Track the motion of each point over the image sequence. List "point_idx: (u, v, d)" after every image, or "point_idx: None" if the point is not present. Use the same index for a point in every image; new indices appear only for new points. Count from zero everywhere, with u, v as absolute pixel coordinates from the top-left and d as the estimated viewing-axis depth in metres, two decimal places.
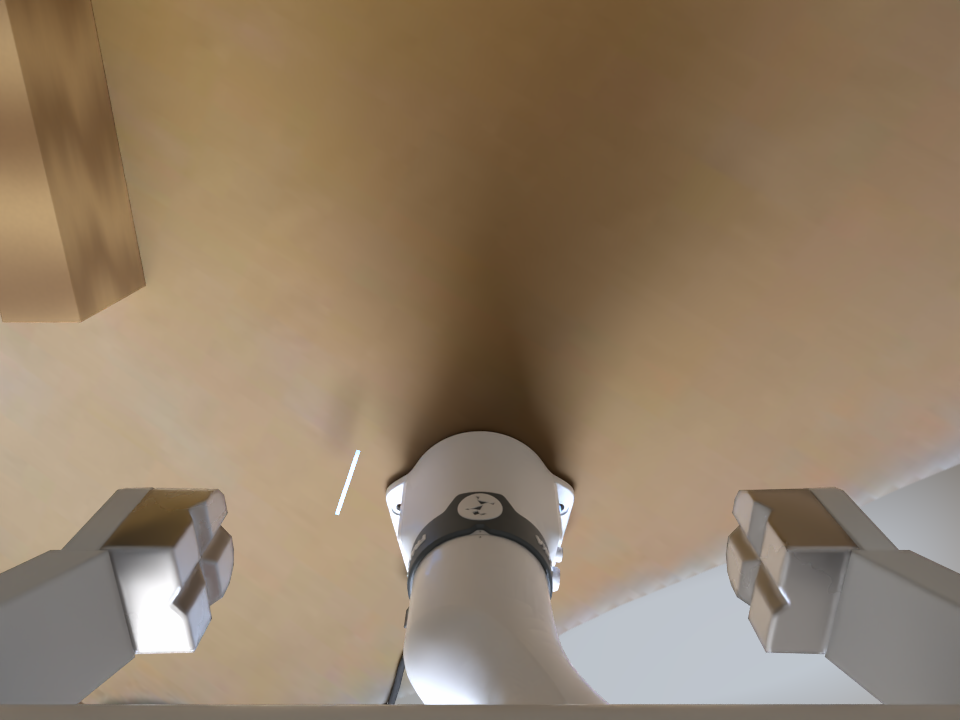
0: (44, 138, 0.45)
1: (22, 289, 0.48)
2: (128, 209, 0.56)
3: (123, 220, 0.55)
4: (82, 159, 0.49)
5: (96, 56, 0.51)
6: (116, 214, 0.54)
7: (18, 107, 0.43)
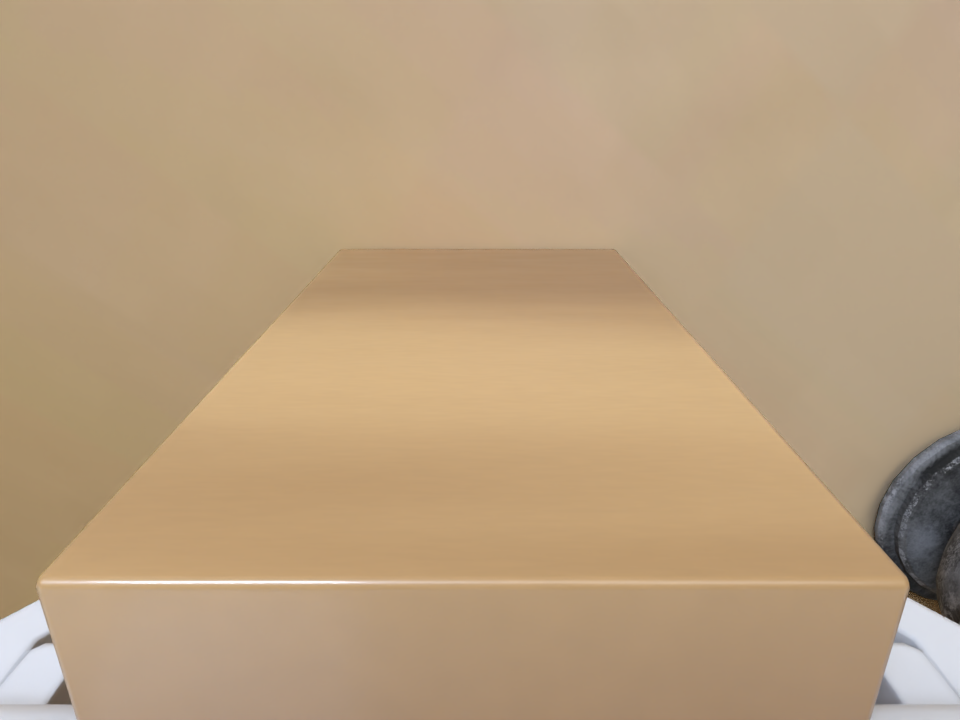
0: None
1: None
2: None
3: None
4: None
5: None
6: None
7: None
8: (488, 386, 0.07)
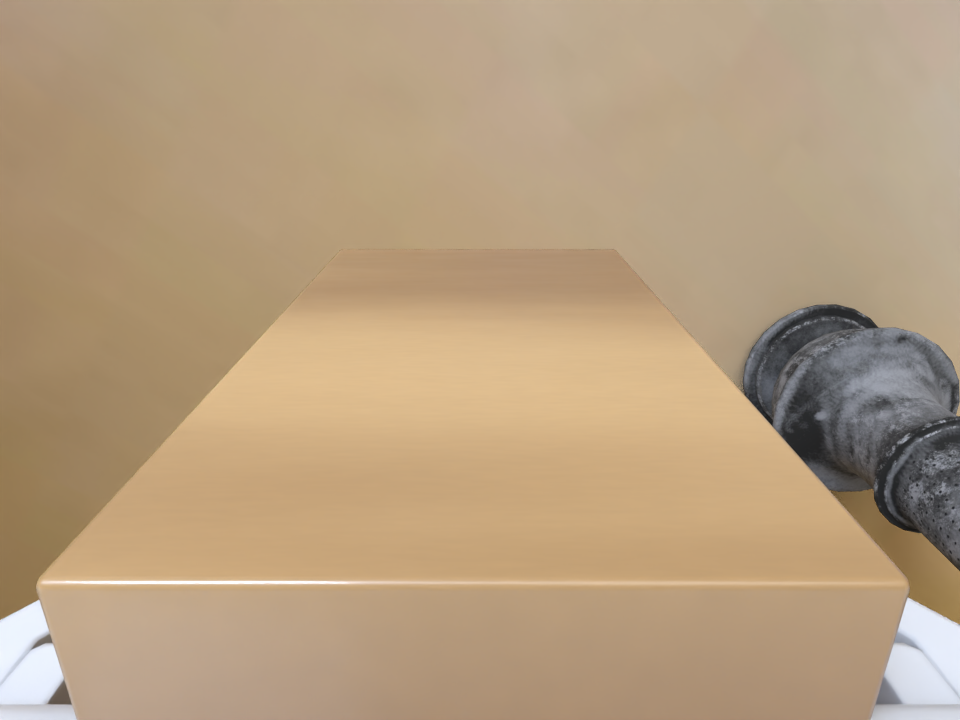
0: None
1: None
2: None
3: None
4: None
5: None
6: None
7: None
8: (489, 386, 0.07)
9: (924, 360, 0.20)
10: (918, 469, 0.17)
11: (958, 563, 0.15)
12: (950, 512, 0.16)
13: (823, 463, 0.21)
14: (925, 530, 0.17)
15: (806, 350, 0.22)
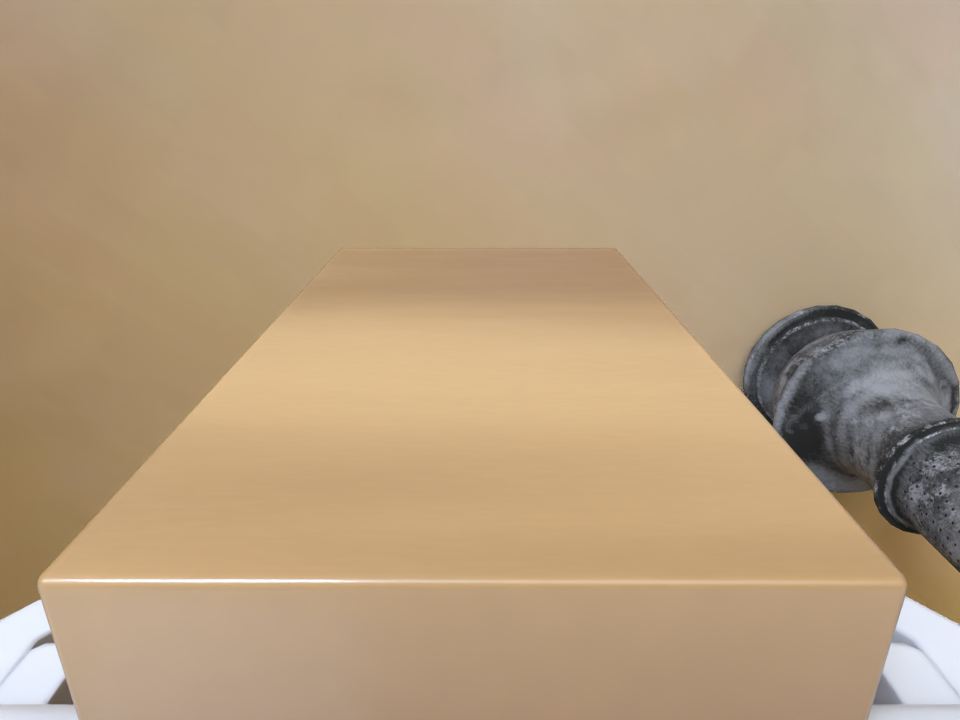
0: None
1: None
2: None
3: None
4: None
5: None
6: None
7: None
8: (488, 385, 0.07)
9: (924, 361, 0.20)
10: (918, 470, 0.17)
11: (958, 564, 0.15)
12: (950, 513, 0.16)
13: (823, 464, 0.21)
14: (925, 531, 0.17)
15: (806, 351, 0.22)
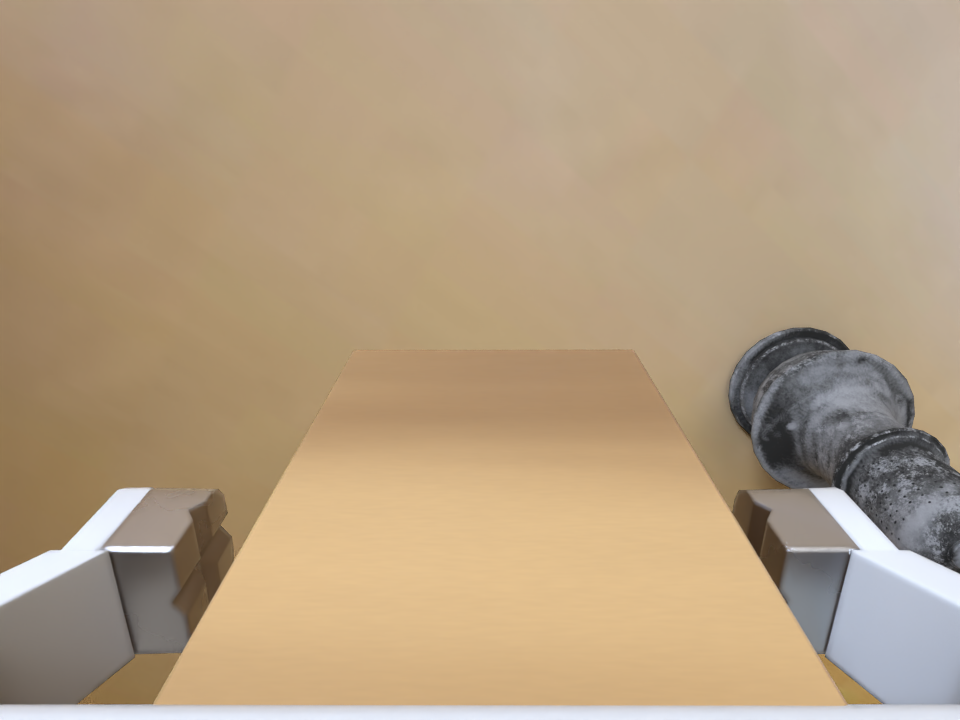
0: None
1: None
2: None
3: None
4: None
5: None
6: None
7: None
8: (510, 576, 0.07)
9: (881, 378, 0.23)
10: (866, 472, 0.20)
11: None
12: (888, 508, 0.19)
13: (795, 467, 0.25)
14: None
15: (780, 369, 0.25)
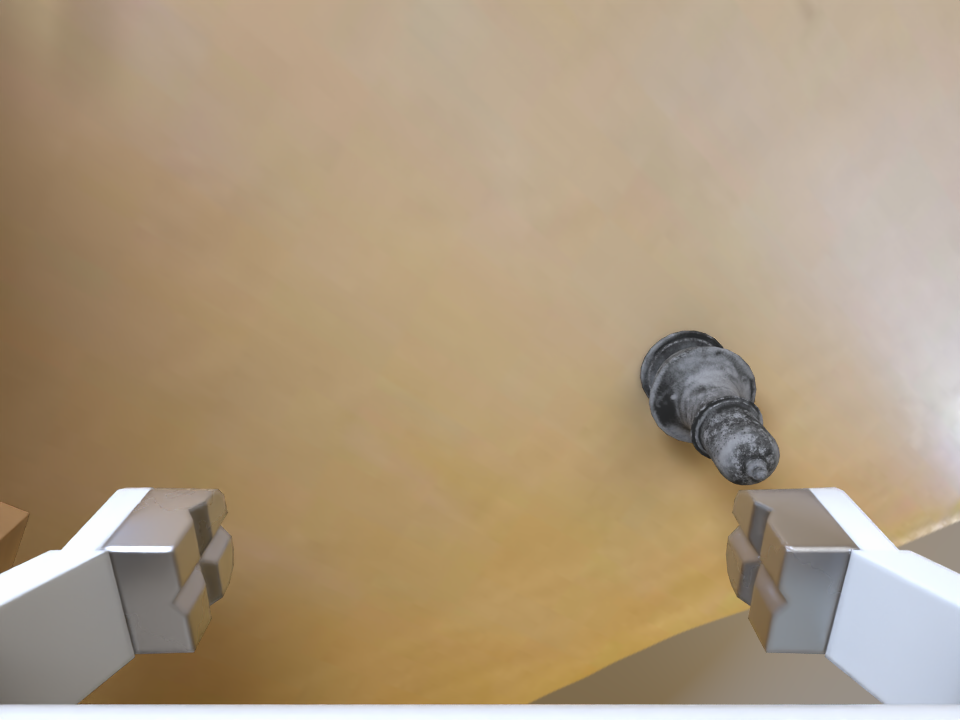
0: None
1: None
2: None
3: None
4: None
5: None
6: None
7: None
8: None
9: (731, 365, 0.36)
10: (708, 423, 0.32)
11: (718, 468, 0.31)
12: (715, 443, 0.31)
13: (678, 425, 0.37)
14: (709, 454, 0.32)
15: (668, 359, 0.37)
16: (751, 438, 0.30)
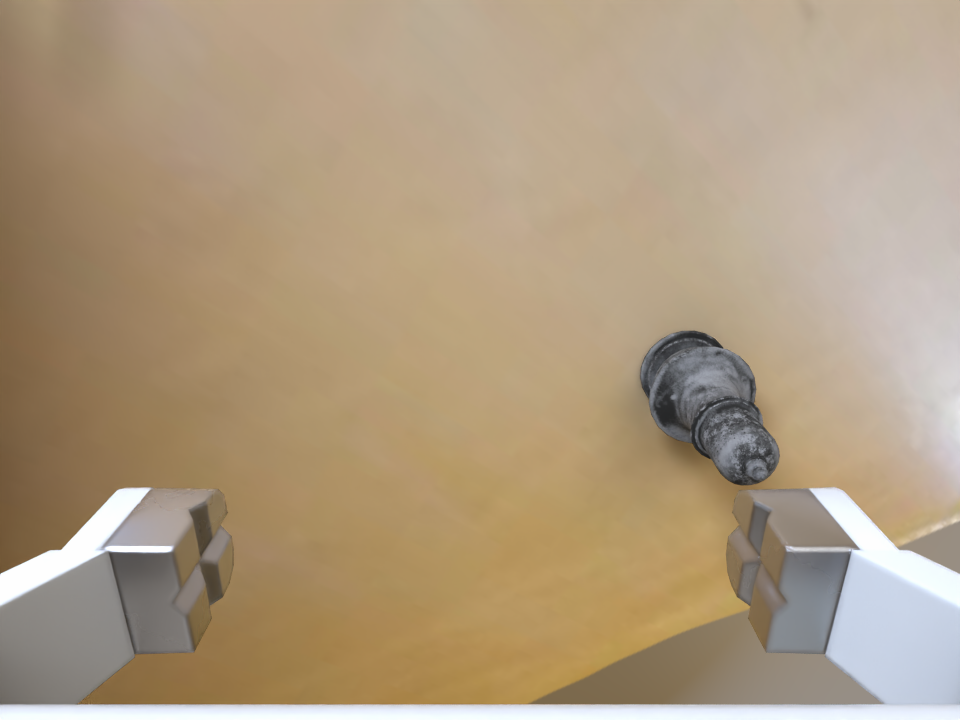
0: None
1: None
2: None
3: None
4: None
5: None
6: None
7: None
8: None
9: (731, 365, 0.36)
10: (707, 423, 0.32)
11: (718, 468, 0.31)
12: (715, 443, 0.31)
13: (678, 425, 0.37)
14: (709, 454, 0.32)
15: (668, 359, 0.37)
16: (750, 438, 0.30)
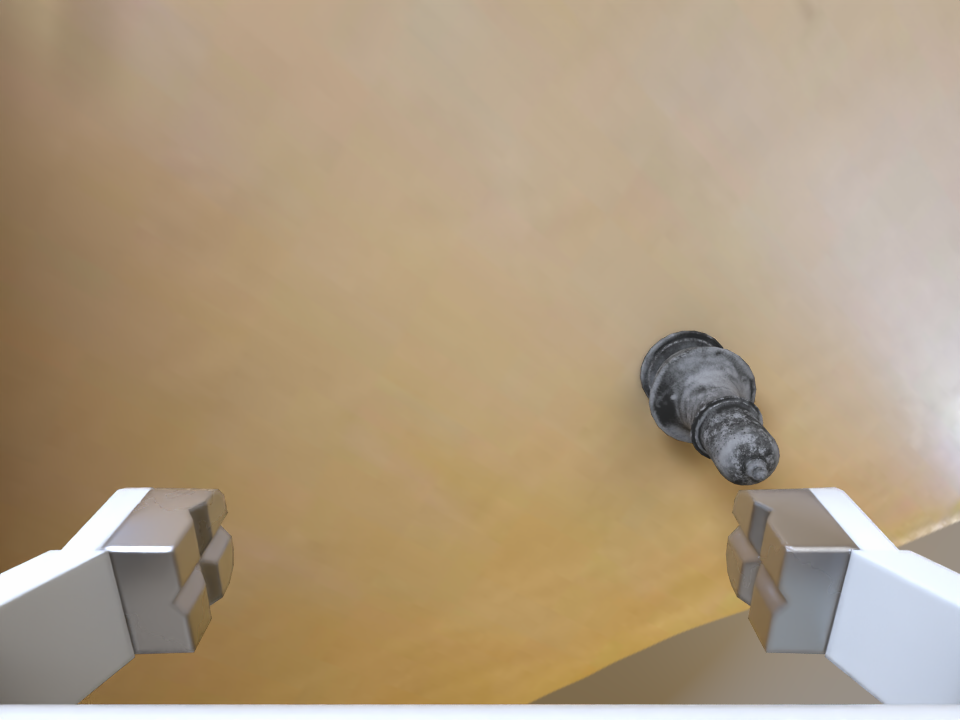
0: None
1: None
2: None
3: None
4: None
5: None
6: None
7: None
8: None
9: (731, 365, 0.36)
10: (707, 423, 0.32)
11: (718, 468, 0.31)
12: (715, 443, 0.31)
13: (678, 425, 0.37)
14: (709, 454, 0.32)
15: (668, 359, 0.37)
16: (750, 438, 0.30)
